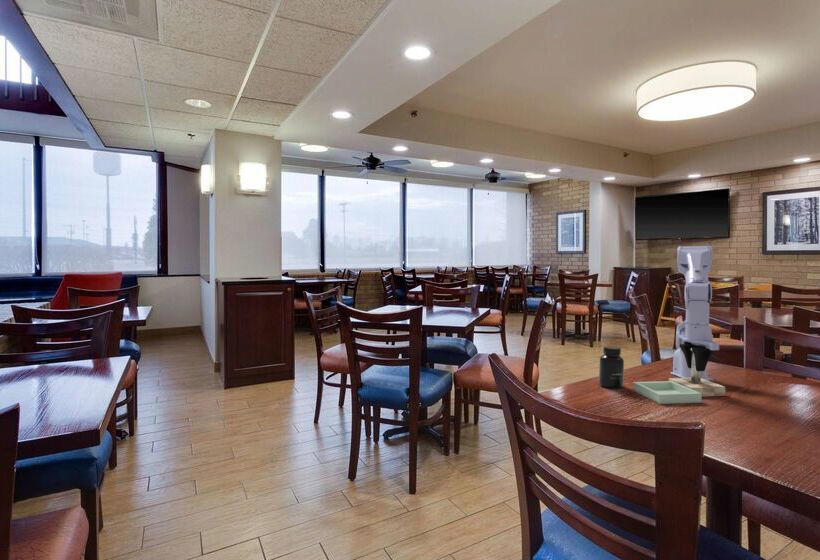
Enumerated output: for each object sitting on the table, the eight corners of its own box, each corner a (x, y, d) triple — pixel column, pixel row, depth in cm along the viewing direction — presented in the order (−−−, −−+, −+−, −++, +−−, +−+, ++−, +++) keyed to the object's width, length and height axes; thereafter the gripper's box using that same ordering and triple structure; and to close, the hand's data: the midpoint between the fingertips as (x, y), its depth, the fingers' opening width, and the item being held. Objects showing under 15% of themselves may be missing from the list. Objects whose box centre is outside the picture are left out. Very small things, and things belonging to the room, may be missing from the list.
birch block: (668, 386, 132) (668, 378, 132) (699, 385, 133) (699, 377, 133) (691, 396, 122) (691, 387, 122) (725, 395, 123) (725, 386, 123)
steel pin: (686, 379, 129) (687, 347, 128) (697, 379, 129) (697, 347, 128) (694, 382, 126) (695, 350, 125) (705, 382, 126) (705, 349, 125)
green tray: (633, 390, 128) (633, 382, 128) (671, 389, 129) (671, 381, 129) (659, 403, 116) (659, 394, 116) (701, 402, 117) (701, 393, 117)
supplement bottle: (617, 390, 128) (618, 350, 127) (595, 385, 133) (595, 347, 133) (627, 386, 133) (627, 347, 132) (605, 381, 138) (605, 344, 137)
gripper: (667, 320, 133) (666, 363, 134) (702, 328, 119) (701, 376, 120) (689, 320, 134) (688, 363, 135) (726, 327, 119) (725, 375, 120)
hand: (696, 369), depth 127 cm, fingers closed on steel pin, 3 cm apart
